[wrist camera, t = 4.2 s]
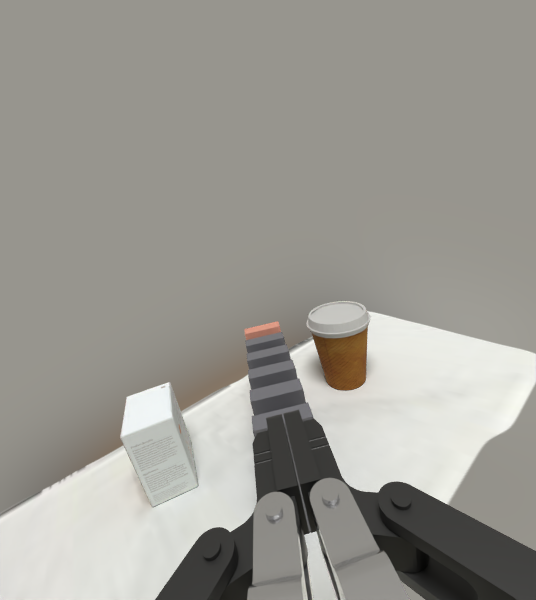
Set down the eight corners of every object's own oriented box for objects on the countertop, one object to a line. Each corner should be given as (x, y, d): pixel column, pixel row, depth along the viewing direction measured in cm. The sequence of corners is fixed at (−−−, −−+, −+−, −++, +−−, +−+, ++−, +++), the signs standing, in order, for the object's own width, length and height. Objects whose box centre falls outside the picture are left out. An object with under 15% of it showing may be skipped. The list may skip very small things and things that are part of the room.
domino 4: (313, 461, 36) (295, 368, 32) (272, 471, 36) (248, 379, 31) (310, 449, 37) (292, 359, 33) (271, 459, 37) (248, 370, 33)
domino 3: (306, 437, 39) (288, 351, 35) (269, 446, 39) (247, 361, 35) (303, 427, 41) (286, 344, 37) (267, 436, 41) (246, 353, 37)
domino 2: (300, 417, 43) (283, 337, 39) (266, 426, 43) (246, 346, 39) (297, 409, 45) (281, 331, 41) (265, 417, 44) (245, 340, 40)
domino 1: (295, 401, 47) (279, 326, 42) (263, 409, 46) (245, 334, 42) (293, 394, 48) (277, 321, 44) (262, 401, 48) (244, 329, 44)
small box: (152, 458, 41) (125, 395, 38) (192, 442, 43) (170, 380, 40) (151, 509, 34) (117, 437, 31) (199, 487, 36) (172, 416, 32)
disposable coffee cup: (352, 356, 55) (344, 295, 51) (389, 381, 46) (383, 310, 43) (306, 375, 52) (294, 312, 49) (337, 406, 44) (326, 332, 40)
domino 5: (322, 489, 32) (302, 389, 28) (277, 501, 32) (250, 401, 28) (318, 475, 34) (298, 378, 30) (275, 486, 34) (249, 390, 30)
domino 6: (333, 526, 29) (313, 416, 24) (282, 539, 28) (252, 431, 24) (328, 507, 30) (308, 402, 26) (280, 520, 30) (251, 416, 26)
